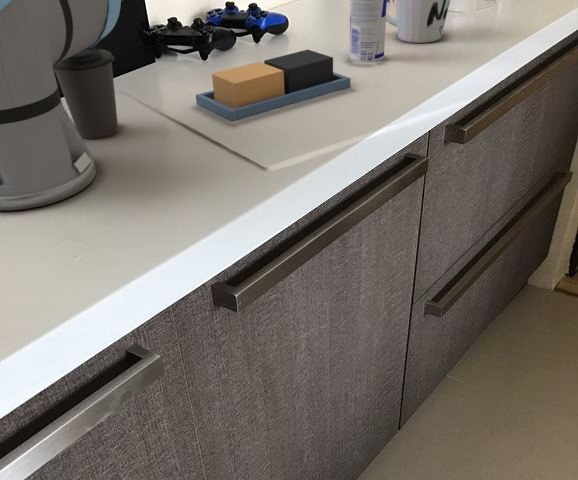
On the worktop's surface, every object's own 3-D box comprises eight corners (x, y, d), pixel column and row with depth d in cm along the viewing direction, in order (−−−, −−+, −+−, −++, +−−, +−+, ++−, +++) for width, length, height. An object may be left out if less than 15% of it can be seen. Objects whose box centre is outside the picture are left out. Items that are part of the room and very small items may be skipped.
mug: (437, 48, 112) (443, -20, 106) (357, 40, 119) (358, -25, 112) (458, 32, 119) (465, -32, 113) (381, 26, 125) (384, -36, 119)
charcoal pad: (289, 99, 94) (288, 69, 92) (265, 89, 98) (263, 60, 95) (333, 86, 98) (333, 57, 95) (308, 77, 101) (308, 49, 99)
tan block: (237, 114, 91) (234, 83, 88) (214, 103, 94) (211, 73, 92) (285, 100, 94) (283, 70, 91) (261, 90, 98) (259, 61, 95)
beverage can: (390, 62, 107) (395, -47, 98) (358, 67, 106) (361, -43, 96) (374, 54, 111) (378, -52, 102) (343, 59, 110) (344, -48, 100)
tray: (232, 125, 89) (231, 111, 88) (196, 107, 95) (195, 94, 94) (350, 90, 98) (350, 77, 97) (310, 76, 104) (310, 64, 103)
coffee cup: (138, 122, 92) (123, 43, 85) (110, 144, 86) (92, 61, 79) (87, 119, 93) (68, 41, 87) (56, 140, 88) (33, 59, 81)
